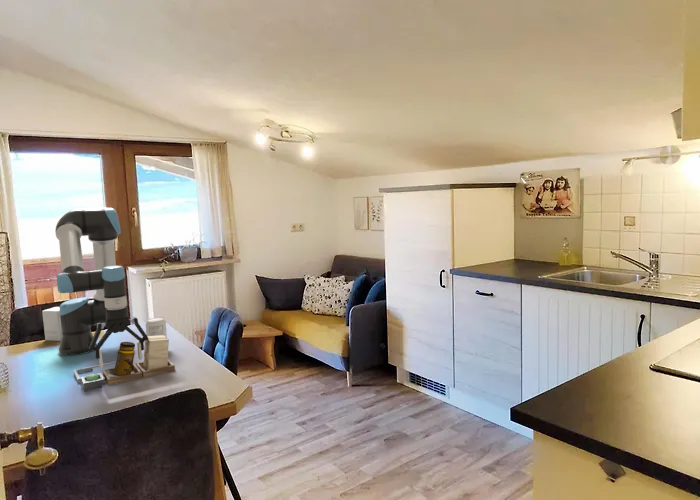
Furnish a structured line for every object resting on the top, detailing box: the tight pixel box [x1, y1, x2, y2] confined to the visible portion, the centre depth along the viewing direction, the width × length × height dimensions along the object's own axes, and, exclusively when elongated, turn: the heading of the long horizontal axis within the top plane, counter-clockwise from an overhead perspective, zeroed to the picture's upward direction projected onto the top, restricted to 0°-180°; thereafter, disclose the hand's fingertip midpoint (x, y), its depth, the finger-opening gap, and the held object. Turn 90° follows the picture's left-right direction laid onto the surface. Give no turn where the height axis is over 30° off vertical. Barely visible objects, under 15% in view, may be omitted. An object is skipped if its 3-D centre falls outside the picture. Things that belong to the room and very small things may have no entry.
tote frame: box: [73, 361, 116, 384], centre depth 199 cm, size 13×19×2 cm
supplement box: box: [41, 306, 62, 342], centre depth 250 cm, size 9×9×15 cm
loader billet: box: [143, 335, 170, 371], centre depth 198 cm, size 8×7×12 cm
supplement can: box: [145, 317, 168, 339], centre depth 221 cm, size 8×8×15 cm
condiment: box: [105, 341, 136, 377], centre depth 191 cm, size 7×8×12 cm
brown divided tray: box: [102, 359, 176, 386], centre depth 195 cm, size 13×24×3 cm, turn 125°
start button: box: [86, 373, 99, 381], centre depth 186 cm, size 4×4×2 cm
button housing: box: [80, 372, 106, 392], centre depth 186 cm, size 8×7×3 cm
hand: (121, 362), depth 191 cm, fingers open, 13 cm apart
